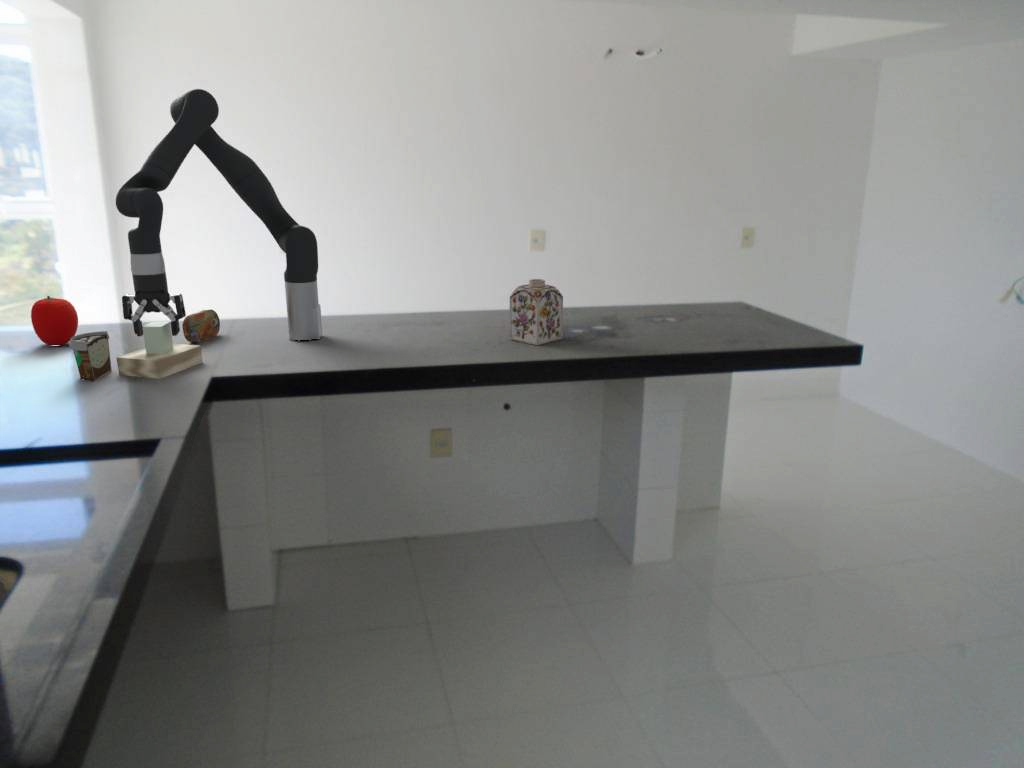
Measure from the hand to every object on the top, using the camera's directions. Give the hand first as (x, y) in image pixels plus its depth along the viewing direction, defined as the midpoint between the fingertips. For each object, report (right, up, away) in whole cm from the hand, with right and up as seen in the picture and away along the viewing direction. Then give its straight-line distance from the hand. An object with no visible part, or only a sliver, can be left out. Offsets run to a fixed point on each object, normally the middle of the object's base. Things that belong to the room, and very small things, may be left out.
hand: (157, 335), depth 186 cm
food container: (-15, -10, -4) cm, 18 cm away
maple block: (0, -9, +3) cm, 9 cm away
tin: (-2, +1, +33) cm, 33 cm away
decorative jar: (+97, +1, +35) cm, 103 cm away
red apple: (-41, -1, +26) cm, 49 cm away
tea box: (0, -4, +1) cm, 4 cm away
